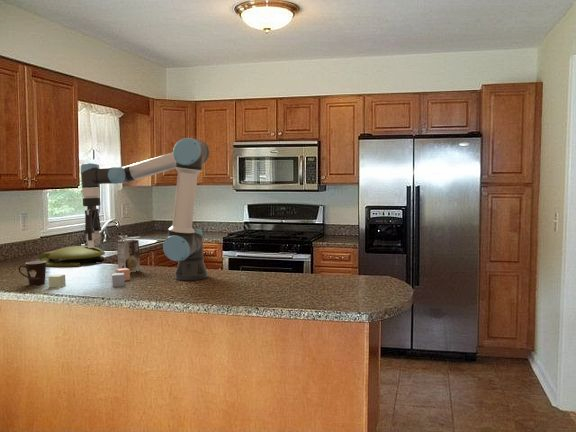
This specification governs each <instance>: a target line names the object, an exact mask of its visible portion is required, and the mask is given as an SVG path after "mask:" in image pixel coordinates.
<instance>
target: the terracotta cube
mask: <svg viewBox="0 0 576 432" xmlns="http://www.w3.org/2000/svg"><path fill="white" fill-rule="evenodd" d="M115 273H124V281H130V280H131V273H130V269H128V268H122V269H118V268H115Z"/></svg>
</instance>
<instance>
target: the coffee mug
mask: <svg viewBox="0 0 576 432" xmlns="http://www.w3.org/2000/svg"><path fill="white" fill-rule="evenodd" d="M21 268H25V269H26V273H27V275H26V274H24V273H23V272H21ZM17 270H18V272H19V273H20V274H21V275H22V276H23V277H25V278H26V279H28V284H29V286H32V285H35V286H41V285H40V284H42V285H45V284H46V272H47V267H46V261H40V260H37V261H36V260H35V261H28V262H25V265H23V264H22V265H20V266H19V267H18V269H17ZM44 283H45V284H44Z"/></svg>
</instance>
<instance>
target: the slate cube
mask: <svg viewBox="0 0 576 432" xmlns="http://www.w3.org/2000/svg"><path fill="white" fill-rule="evenodd" d="M111 280H112V281H111V282H112V287H123V286H125V280H124V273H116V272H115V273H112V274H111Z"/></svg>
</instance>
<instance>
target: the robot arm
mask: <svg viewBox="0 0 576 432" xmlns="http://www.w3.org/2000/svg"><path fill="white" fill-rule="evenodd" d="M209 158H210V148H209V146H208V145H207V143H206V142H205V141H204V140H201V139H196V138H192V137H184V138H181V139H178V140H177V142H176V143H175V145H174V147H173V151H172V152H169V153H165V154H163V155H162V154H161V155H159V156H156V157H153V158H149V159H145V160H142V161H140V162H139V161H138V162H136V163H135V162H134V163H132V164H129V165H124V166H115V165H114V166H107V167H106V166H103V167H101V166H100V167H99V164H98V163H96V162H95V163H94V162H93V163H92V162H91V163H90V162H89V163H88V162H87V163H82V164H81V165H80V179H81V188H82V189H81V190H80V192H81V193H82V194H81V196H82V206H83V207H87V209H86V210H84V217H85V219H84V220H85V221H84V222H85V223H84V224H85V225H84V234H86V235H87V242H88V244H87V246H88V248H94V247H95V246H94V233H93V231H98V229H99V232H101V231H102V226H101V219H100V218H101V217H100V209H99V208H97V206H98V207H99V206H101V198H100V196H101V191H100V190H101V189H100V185H103V184H104V185H106V184H107V185H108V184H114V185H117V184H124V185H125V184H130V183H132V182H134V181H137V180H139V179H140V180H141V179H144V178H147V177H151V176H154V175H157V174H160V173H164V172H168V171H172V170H176V171H177V178H176V188H175V198H174V199H175V200H174V204H173V206H174V208H173V216H172V225H171V226H170V227H169V228H168V229H167V237H166V238H165V240H164V241H163V243H162V251H163V253H164V254H165V256H166V258H167V259H169V260H170V261H173V262H174V261H175V262H178V263H177V266H176V270H175V272H174V279H175V280H177V281H197V280H198V281H199V280H203V279H207V278H208V270H207V268H206V264H205V262H204V261H205V260H204V241H203V240H204V235H203V230H201V229H200V228H199V229H198V228H195V229H194V228H193V221H194V214H195V213H194V210H195V205H196V204H195V203H196V202H195V201H196V192H197V184H198V175H199V173H201V172H202V170H203V164H205V163H206V162H207V161H208V160H209ZM87 242H86V243H87Z"/></svg>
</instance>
